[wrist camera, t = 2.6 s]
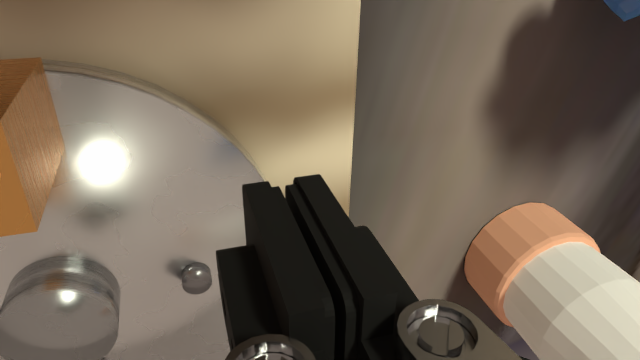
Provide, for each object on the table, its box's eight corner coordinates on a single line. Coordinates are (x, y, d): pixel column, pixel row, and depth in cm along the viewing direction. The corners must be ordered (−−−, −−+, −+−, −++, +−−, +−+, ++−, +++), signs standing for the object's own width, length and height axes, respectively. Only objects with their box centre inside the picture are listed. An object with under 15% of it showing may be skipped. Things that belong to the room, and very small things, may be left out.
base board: (-543, -66, 13) (-969, -41, 8) (345, -67, 20) (413, -53, 15) (-128, 469, 26) (-194, 608, 21) (329, 360, 32) (362, 446, 27)
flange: (-370, 67, 13) (-716, 183, 8) (275, 32, 18) (329, 91, 13) (-95, 457, 23) (-171, 633, 17) (284, 367, 27) (318, 483, 22)
